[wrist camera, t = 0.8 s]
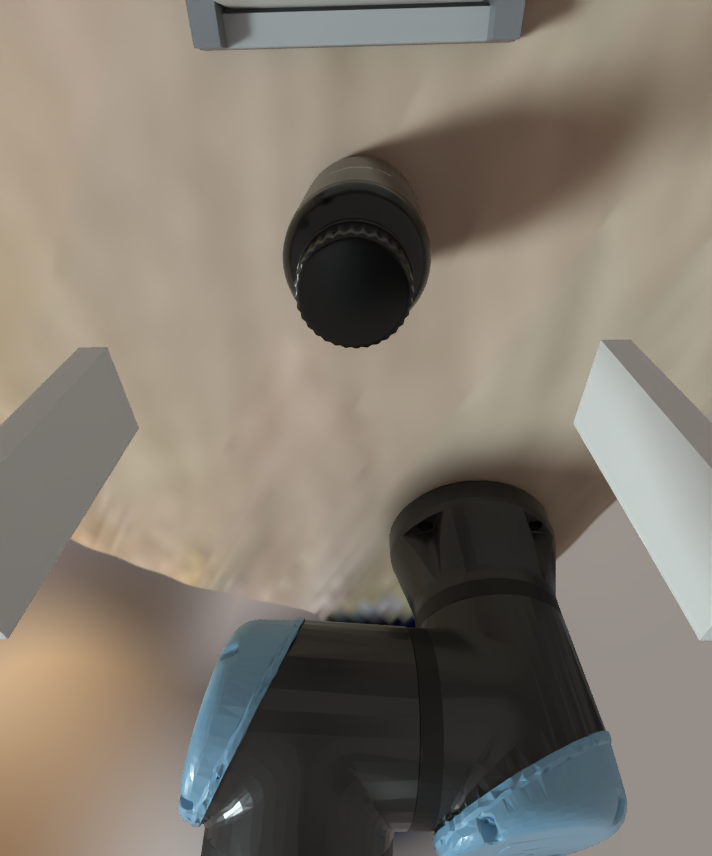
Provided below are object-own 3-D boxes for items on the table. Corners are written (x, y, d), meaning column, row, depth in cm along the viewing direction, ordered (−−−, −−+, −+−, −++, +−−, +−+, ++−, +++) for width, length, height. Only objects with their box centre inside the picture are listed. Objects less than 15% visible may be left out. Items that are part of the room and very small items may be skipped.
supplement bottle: (377, 124, 25) (386, 156, 15) (437, 236, 28) (474, 318, 19) (278, 201, 27) (232, 271, 18) (344, 295, 31) (335, 396, 21)
